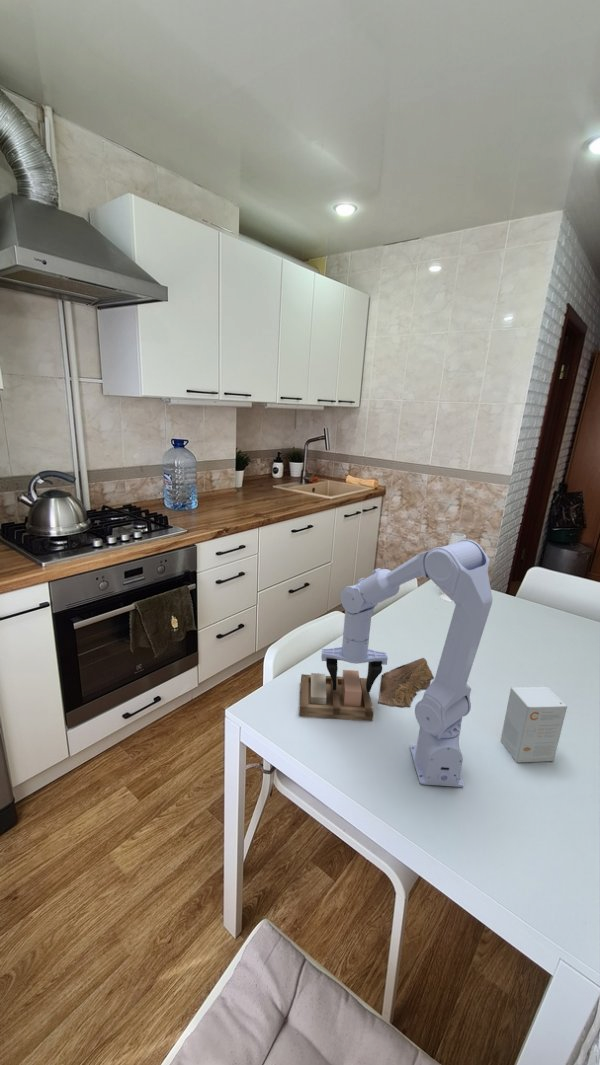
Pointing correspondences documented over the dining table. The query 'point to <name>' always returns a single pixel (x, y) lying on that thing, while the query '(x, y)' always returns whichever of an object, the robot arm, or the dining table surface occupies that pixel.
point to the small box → (533, 724)
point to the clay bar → (351, 688)
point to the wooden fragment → (404, 683)
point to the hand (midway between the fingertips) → (351, 688)
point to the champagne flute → (454, 539)
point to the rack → (331, 699)
